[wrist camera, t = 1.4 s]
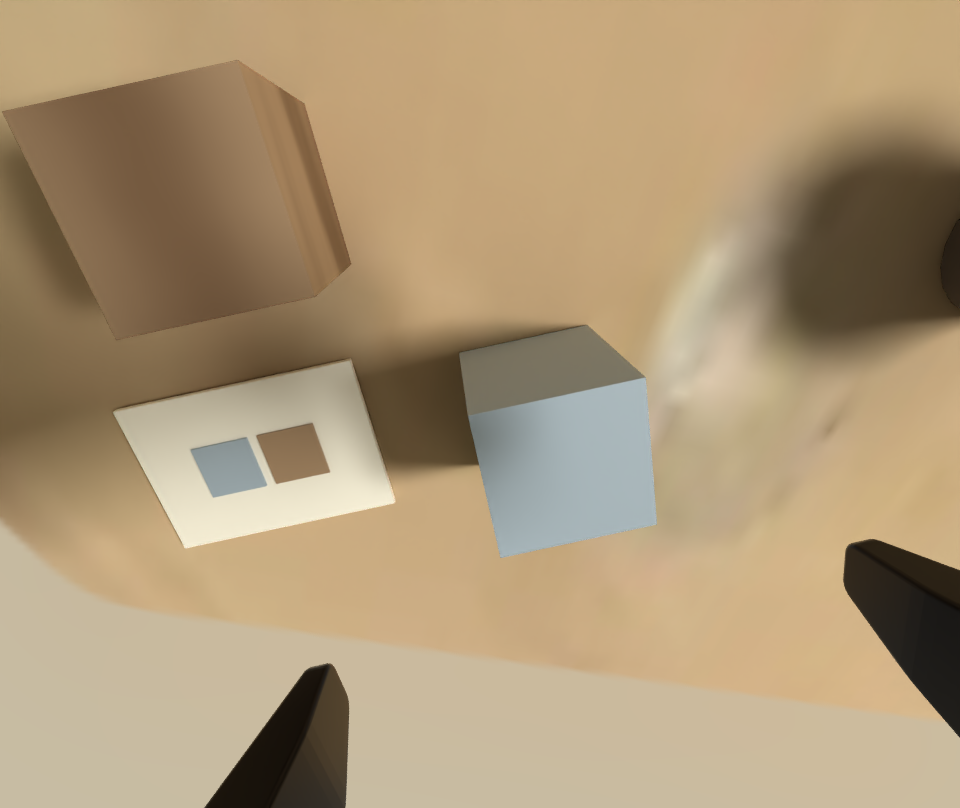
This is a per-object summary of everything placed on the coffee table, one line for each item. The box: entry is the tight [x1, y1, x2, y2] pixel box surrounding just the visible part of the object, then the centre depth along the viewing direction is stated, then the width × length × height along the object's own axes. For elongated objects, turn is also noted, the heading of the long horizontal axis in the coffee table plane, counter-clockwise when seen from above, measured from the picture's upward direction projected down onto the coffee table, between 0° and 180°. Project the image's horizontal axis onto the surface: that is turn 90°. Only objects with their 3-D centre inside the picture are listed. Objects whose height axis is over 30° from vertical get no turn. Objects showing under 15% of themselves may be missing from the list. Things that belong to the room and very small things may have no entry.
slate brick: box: [459, 325, 657, 558], centre depth 18 cm, size 5×5×6 cm
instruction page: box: [113, 358, 395, 548], centre depth 20 cm, size 9×6×1 cm
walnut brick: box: [2, 60, 351, 340], centre depth 14 cm, size 5×5×6 cm
